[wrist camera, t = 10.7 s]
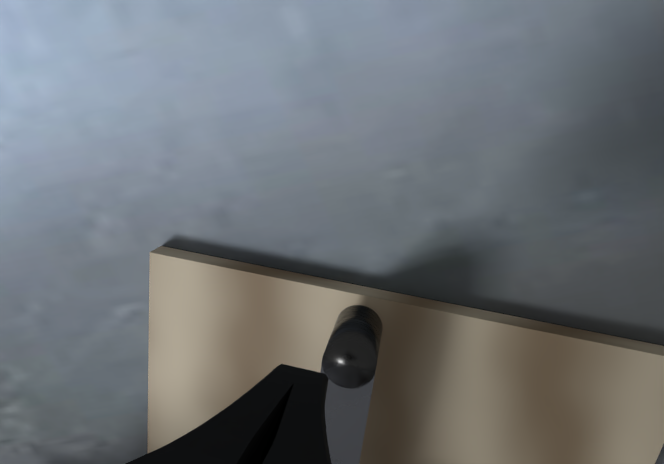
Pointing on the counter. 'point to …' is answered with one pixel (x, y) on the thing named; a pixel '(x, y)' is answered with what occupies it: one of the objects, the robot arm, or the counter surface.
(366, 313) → the grey lever handle
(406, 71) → the counter surface
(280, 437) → the robot arm
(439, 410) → the base
